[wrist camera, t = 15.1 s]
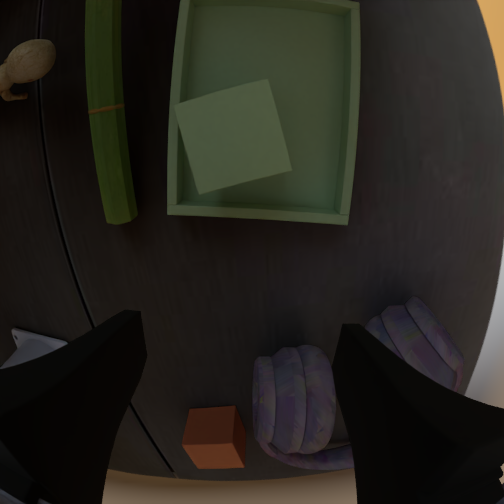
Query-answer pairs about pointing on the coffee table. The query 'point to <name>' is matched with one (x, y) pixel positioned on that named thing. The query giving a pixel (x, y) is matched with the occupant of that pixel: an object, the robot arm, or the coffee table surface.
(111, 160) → the decorative plant
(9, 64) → the figurine
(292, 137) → the sage tray
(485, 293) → the coffee table surface
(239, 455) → the terracotta block
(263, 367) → the headphones
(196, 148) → the sage block
